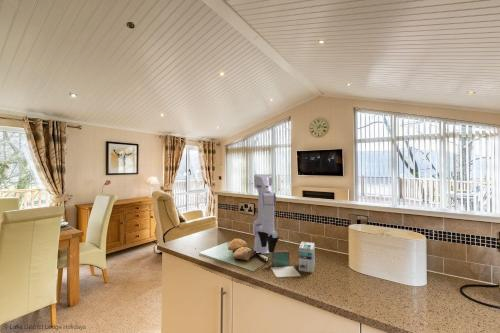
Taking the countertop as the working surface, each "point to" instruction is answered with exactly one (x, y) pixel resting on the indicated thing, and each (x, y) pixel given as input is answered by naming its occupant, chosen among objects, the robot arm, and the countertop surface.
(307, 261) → the light bulb box
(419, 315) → the countertop surface
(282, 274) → the cream mat
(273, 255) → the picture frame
